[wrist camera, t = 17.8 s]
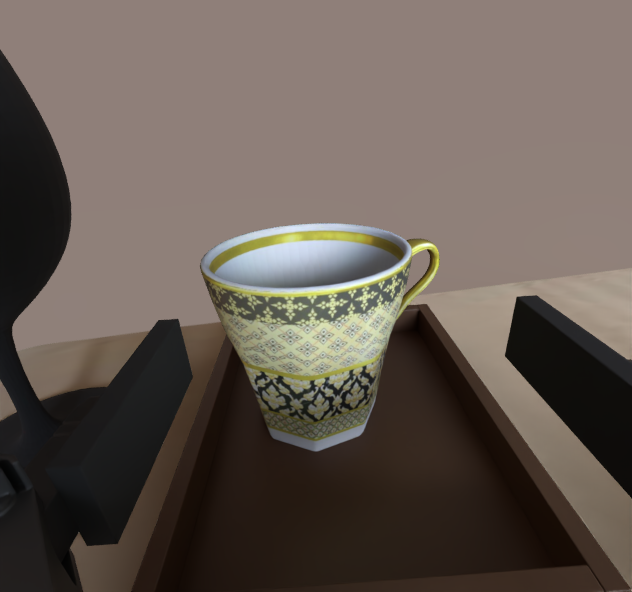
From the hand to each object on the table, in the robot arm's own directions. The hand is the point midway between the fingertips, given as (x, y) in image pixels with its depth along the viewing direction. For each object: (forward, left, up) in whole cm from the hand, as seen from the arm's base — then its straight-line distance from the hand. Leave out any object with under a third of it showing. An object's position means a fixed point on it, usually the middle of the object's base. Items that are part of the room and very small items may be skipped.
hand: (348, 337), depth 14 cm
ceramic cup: (0, -5, -8) cm, 9 cm away
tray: (0, -3, -8) cm, 9 cm away
